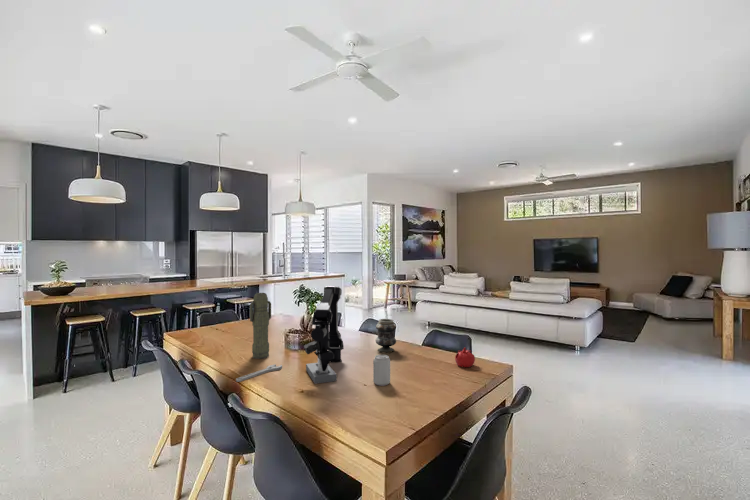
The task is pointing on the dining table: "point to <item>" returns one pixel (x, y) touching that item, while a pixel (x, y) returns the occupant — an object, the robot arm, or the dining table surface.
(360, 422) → the dining table surface
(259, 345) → the thermos
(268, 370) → the adjustable wrench
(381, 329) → the apothecary jar
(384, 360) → the can
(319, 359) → the steel peg
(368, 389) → the dining table surface
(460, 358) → the pomegranate
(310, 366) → the socket plate
